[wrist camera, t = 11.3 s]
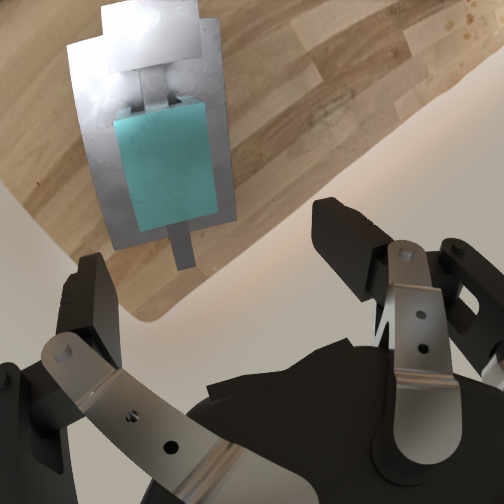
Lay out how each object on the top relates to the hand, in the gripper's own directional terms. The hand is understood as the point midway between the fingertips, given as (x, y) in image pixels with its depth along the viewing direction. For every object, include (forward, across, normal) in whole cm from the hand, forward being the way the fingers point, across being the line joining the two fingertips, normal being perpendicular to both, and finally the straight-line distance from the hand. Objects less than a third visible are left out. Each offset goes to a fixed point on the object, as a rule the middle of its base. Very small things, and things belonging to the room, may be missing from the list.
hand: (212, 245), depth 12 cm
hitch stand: (+22, +1, +1) cm, 22 cm away
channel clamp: (+17, 0, +1) cm, 17 cm away
